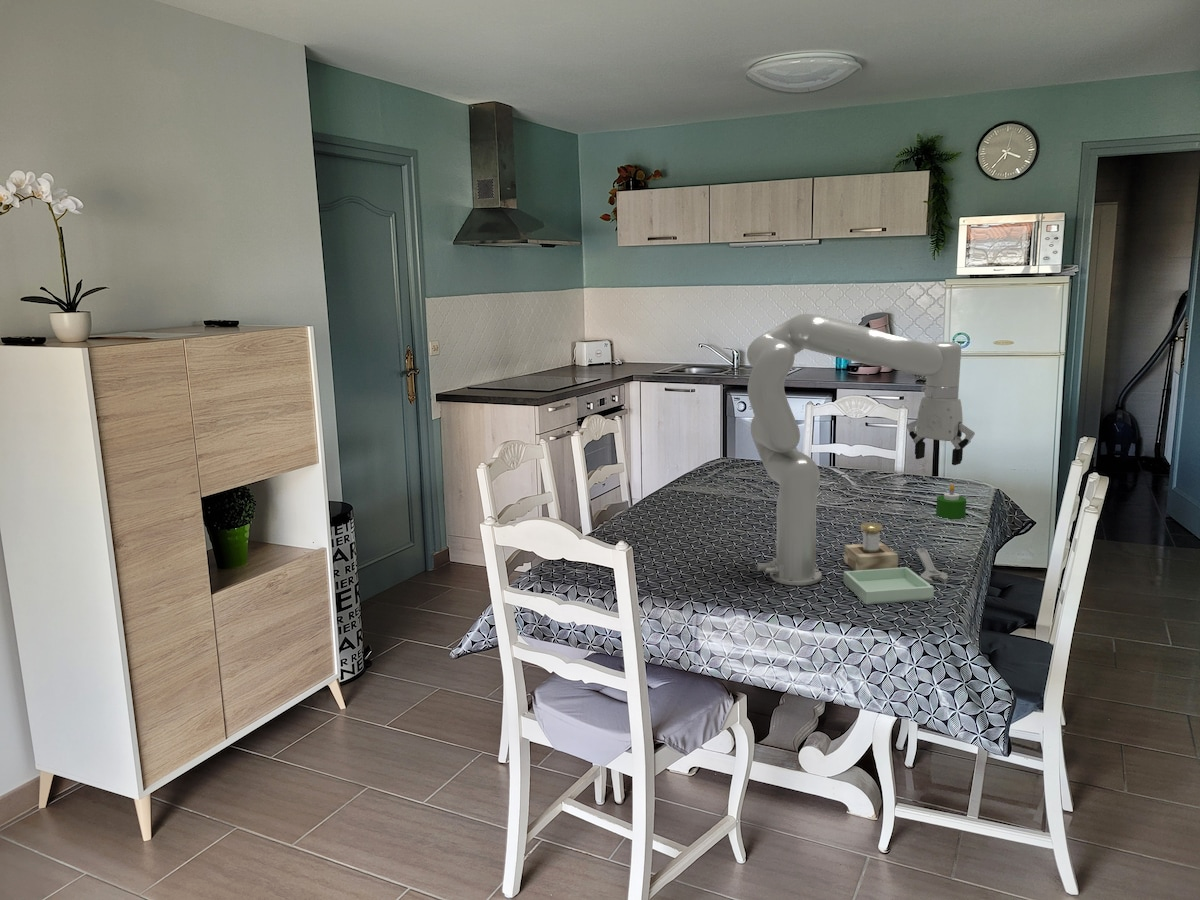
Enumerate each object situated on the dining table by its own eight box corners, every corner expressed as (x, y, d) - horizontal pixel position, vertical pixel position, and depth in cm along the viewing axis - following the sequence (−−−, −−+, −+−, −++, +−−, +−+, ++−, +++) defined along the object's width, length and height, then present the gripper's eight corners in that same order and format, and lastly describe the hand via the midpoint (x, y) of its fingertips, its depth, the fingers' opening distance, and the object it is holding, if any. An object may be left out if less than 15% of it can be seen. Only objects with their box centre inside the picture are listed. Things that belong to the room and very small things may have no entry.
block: (859, 574, 220) (859, 557, 219) (844, 561, 229) (844, 545, 228) (897, 571, 220) (898, 554, 220) (881, 558, 230) (881, 542, 229)
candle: (937, 519, 263) (938, 487, 261) (934, 511, 271) (936, 480, 269) (967, 520, 261) (968, 488, 259) (963, 512, 269) (965, 481, 266)
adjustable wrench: (915, 553, 235) (915, 546, 235) (940, 554, 234) (941, 548, 233) (921, 585, 212) (921, 578, 212) (949, 587, 210) (949, 580, 210)
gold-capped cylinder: (864, 570, 222) (865, 529, 220) (856, 563, 227) (857, 523, 225) (884, 569, 223) (885, 527, 220) (876, 562, 228) (877, 521, 225)
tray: (866, 604, 200) (866, 592, 200) (843, 583, 214) (843, 571, 214) (933, 599, 202) (933, 587, 201) (906, 578, 216) (906, 567, 215)
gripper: (901, 391, 219) (898, 458, 222) (968, 398, 206) (963, 469, 209) (917, 388, 224) (914, 453, 227) (983, 394, 211) (978, 464, 214)
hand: (937, 461), depth 218 cm, fingers open, 9 cm apart
